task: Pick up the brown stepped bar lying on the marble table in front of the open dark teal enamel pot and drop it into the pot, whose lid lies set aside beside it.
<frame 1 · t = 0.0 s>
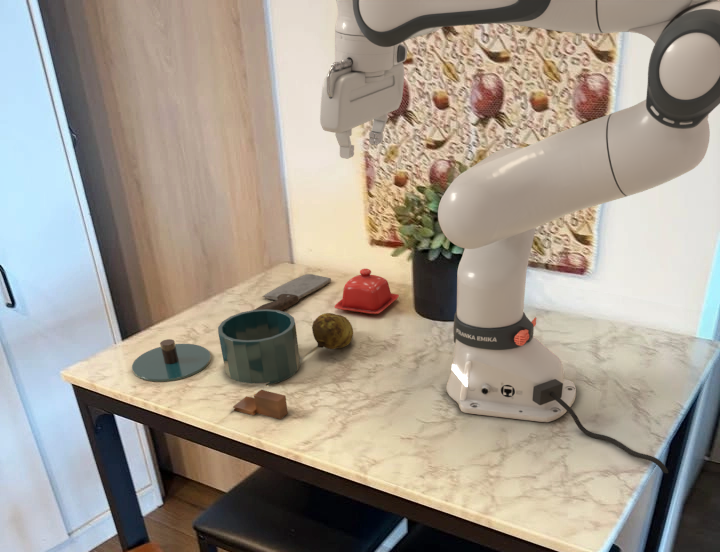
hand: (361, 150, 122), 39 cm above the table, tool pointing down, fingers open, 8 cm apart
potato: (336, 347, 153), on the table
cleaver: (283, 300, 174), on the table
brown stepped bar: (262, 410, 133), on the table
butter dish: (367, 307, 168), on the table
lid: (172, 363, 150), point 1 cm above the table
pot: (263, 367, 147), on the table
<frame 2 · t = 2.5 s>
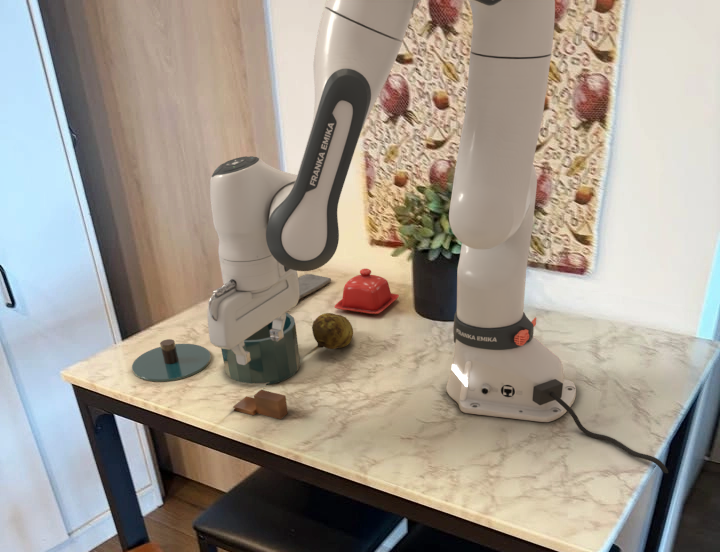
hand: (261, 350, 125), 12 cm above the table, tool pointing down, fingers open, 8 cm apart
nothing on the table moved.
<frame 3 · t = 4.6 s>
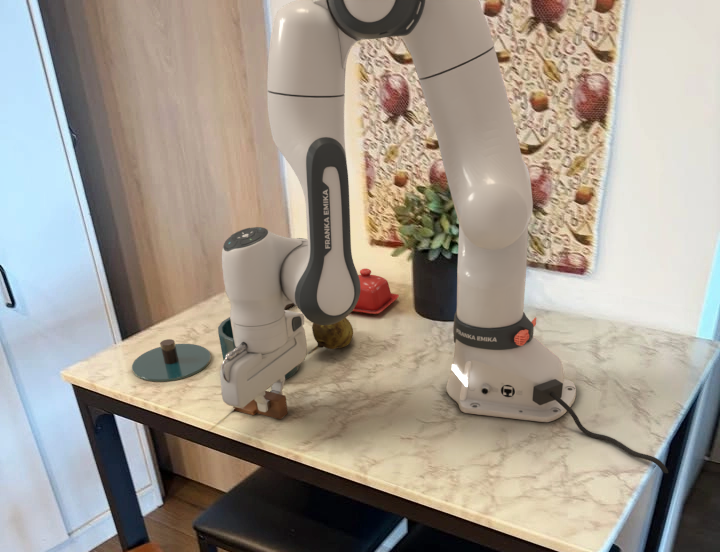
hand: (271, 404, 132), 2 cm above the table, tool pointing down, fingers closed on brown stepped bar, 2 cm apart
brown stepped bar: (262, 410, 133), on the table, touching gripper
everything else where it was.
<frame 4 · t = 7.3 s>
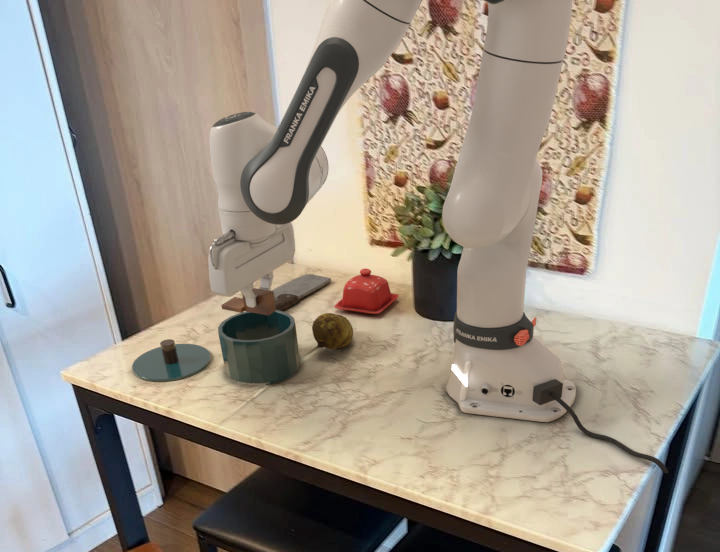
hand: (259, 301, 132), 16 cm above the table, tool pointing down, fingers closed on brown stepped bar, 2 cm apart
brown stepped bar: (250, 309, 134), point 15 cm above the table, touching gripper
everything else where it was.
when the fingers open (8 cm above the table, at t = 10.2 s): brown stepped bar drops 6 cm, resting on pot.
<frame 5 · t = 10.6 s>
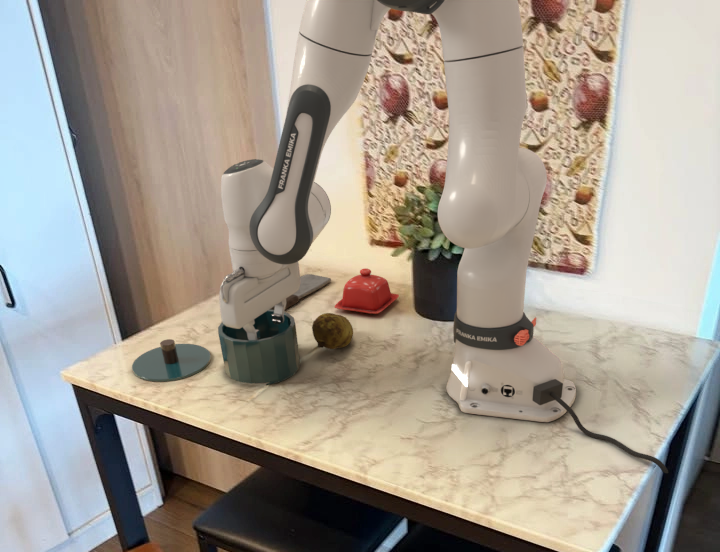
hand: (266, 331, 141), 8 cm above the table, tool pointing down, fingers open, 6 cm apart
brown stepped bar: (263, 365, 147), point 1 cm above the table, touching pot
everything else where it was.
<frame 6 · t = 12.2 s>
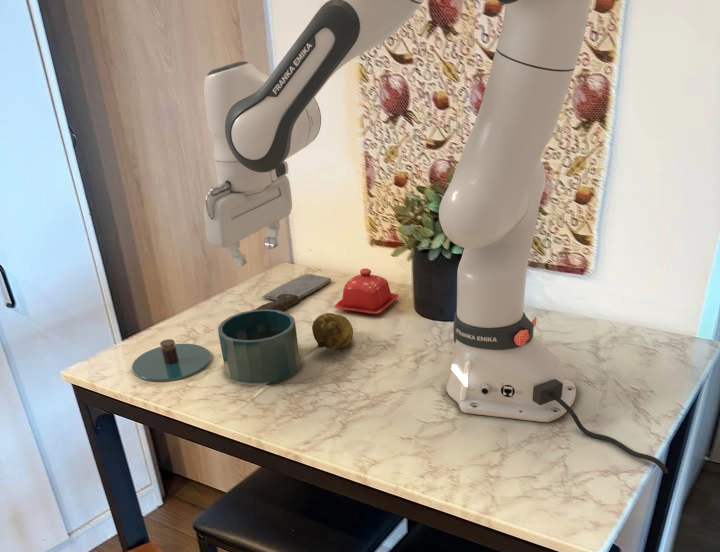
hand: (256, 256, 133), 22 cm above the table, tool pointing down, fingers open, 8 cm apart
nothing on the table moved.
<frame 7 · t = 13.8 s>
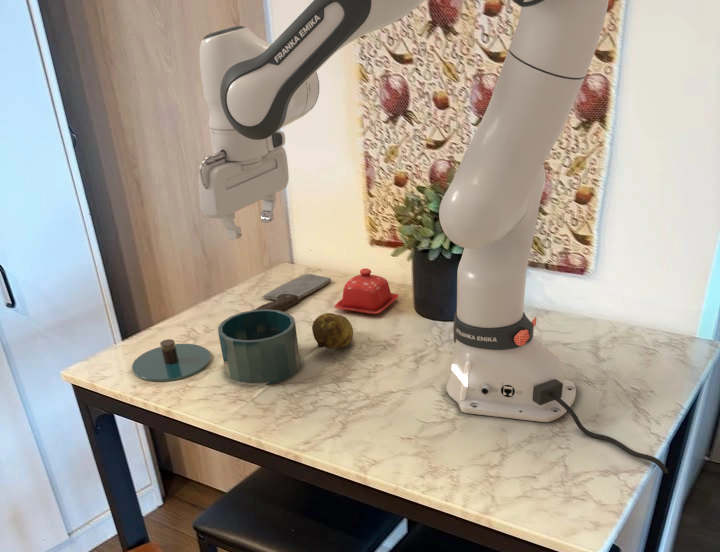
hand: (251, 229, 130), 27 cm above the table, tool pointing down, fingers open, 8 cm apart
nothing on the table moved.
at the end: brown stepped bar inside the target area in the pot (0.1 cm from its centre), point 0.5 cm above the pot's base; the gripper is holding nothing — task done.
